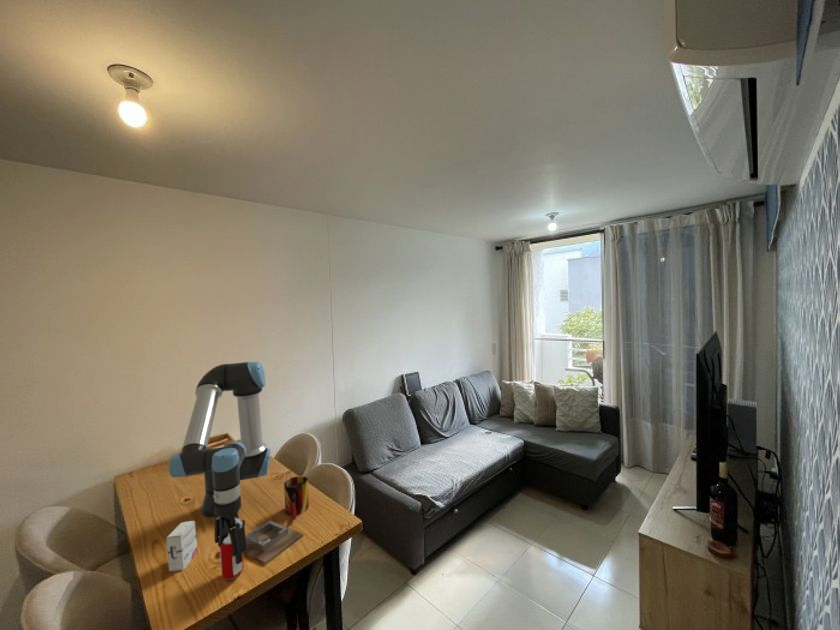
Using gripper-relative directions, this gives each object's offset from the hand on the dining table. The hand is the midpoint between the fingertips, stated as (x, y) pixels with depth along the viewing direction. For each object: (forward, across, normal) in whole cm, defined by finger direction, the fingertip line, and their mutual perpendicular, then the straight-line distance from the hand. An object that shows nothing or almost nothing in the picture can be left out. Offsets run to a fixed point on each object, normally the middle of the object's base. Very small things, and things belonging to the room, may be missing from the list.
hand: (231, 568), depth 110 cm
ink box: (+3, -22, -4) cm, 22 cm away
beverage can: (+3, 0, 0) cm, 3 cm away
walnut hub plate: (+3, -4, +16) cm, 17 cm away
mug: (+3, -9, +35) cm, 36 cm away
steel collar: (+3, -4, +16) cm, 17 cm away
